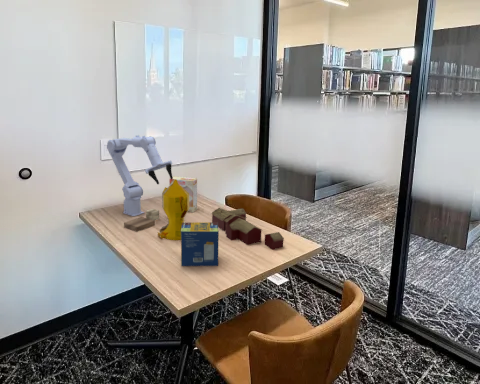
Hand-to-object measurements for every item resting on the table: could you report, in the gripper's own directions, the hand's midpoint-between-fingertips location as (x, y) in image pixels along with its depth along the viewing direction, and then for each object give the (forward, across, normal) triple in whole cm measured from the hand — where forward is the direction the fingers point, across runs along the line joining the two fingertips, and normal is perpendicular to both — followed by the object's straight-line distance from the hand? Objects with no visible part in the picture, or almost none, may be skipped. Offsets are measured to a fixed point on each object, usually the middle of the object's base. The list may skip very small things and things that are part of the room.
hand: (165, 181), depth 192 cm
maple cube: (+14, -11, +18) cm, 25 cm away
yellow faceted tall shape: (+28, -8, -4) cm, 29 cm away
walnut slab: (+16, -20, +10) cm, 28 cm away
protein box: (+43, -8, -33) cm, 55 cm away
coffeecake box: (+15, +10, +29) cm, 34 cm away
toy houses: (+43, +23, -14) cm, 51 cm away
